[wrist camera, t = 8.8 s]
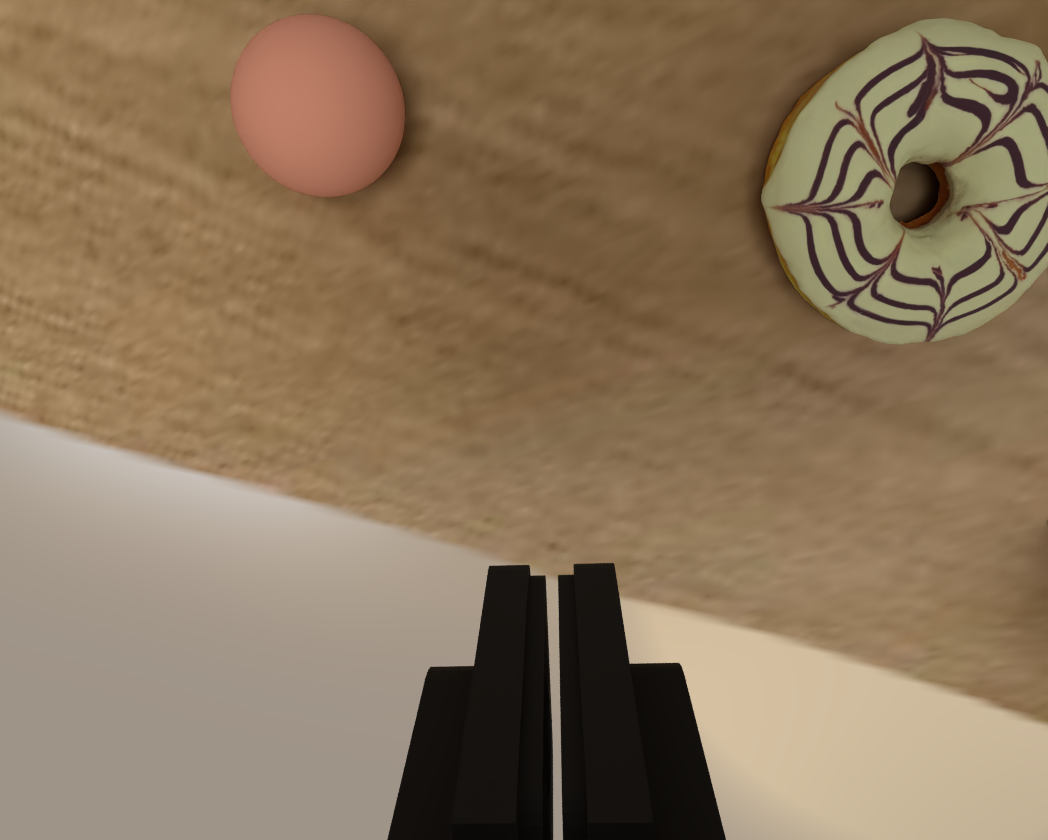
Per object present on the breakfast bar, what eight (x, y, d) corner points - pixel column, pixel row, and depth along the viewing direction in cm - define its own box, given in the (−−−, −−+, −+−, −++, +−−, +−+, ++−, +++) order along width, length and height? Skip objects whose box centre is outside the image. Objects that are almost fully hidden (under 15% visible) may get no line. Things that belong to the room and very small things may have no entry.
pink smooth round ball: (398, 192, 22) (447, 152, 27) (322, -9, 20) (390, -15, 24) (249, 235, 24) (319, 191, 28) (161, 56, 21) (253, 38, 26)
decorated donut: (894, -34, 25) (955, -66, 22) (1092, 161, 28) (1177, 161, 24) (696, 216, 28) (722, 224, 25) (891, 374, 30) (941, 403, 27)
